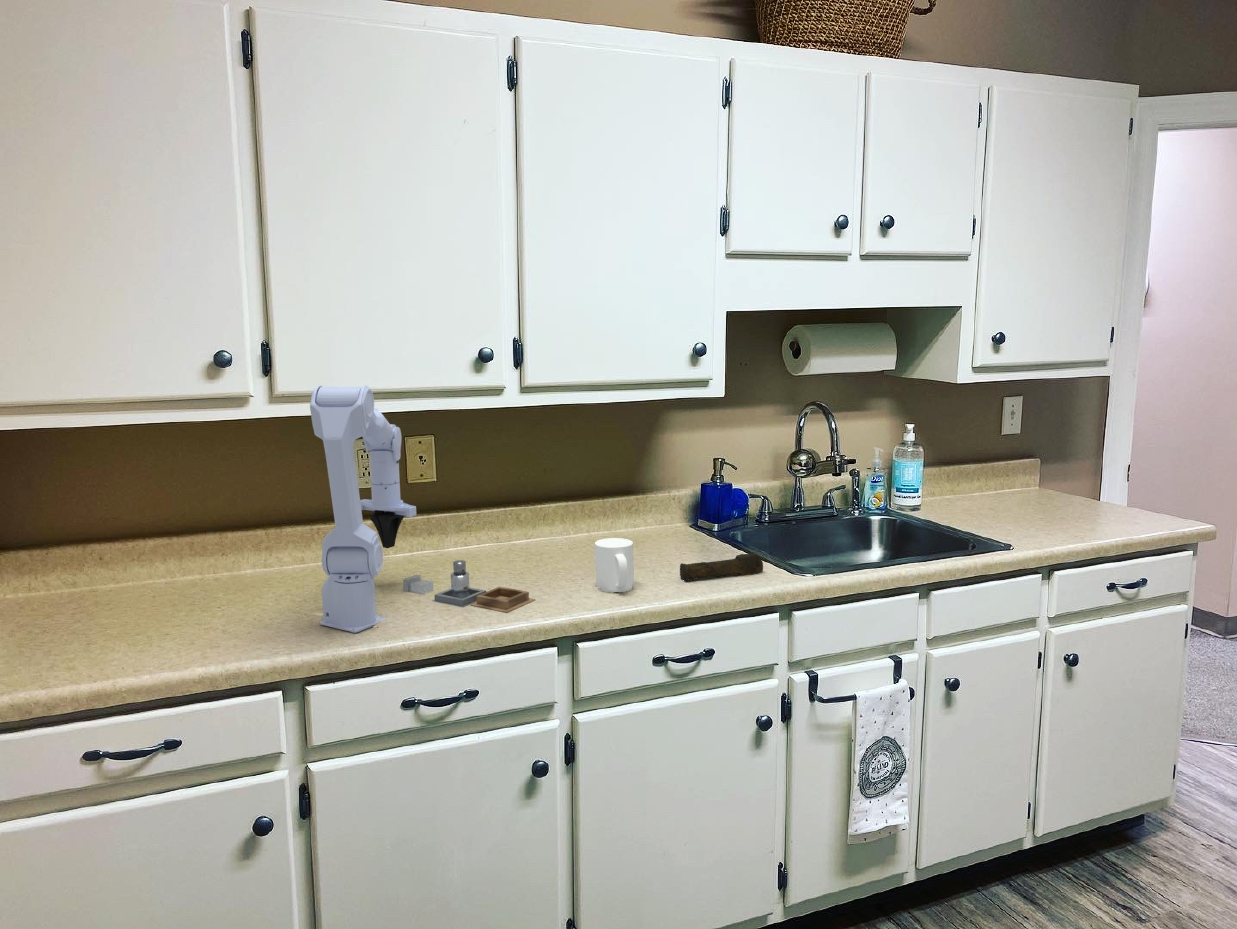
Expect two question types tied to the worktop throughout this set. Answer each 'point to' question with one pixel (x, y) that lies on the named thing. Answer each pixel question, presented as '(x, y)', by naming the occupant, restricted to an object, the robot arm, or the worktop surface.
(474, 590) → the grey square tray
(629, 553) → the mug
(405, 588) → the grey stepped block
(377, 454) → the robot arm
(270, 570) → the worktop surface
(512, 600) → the brown square tray
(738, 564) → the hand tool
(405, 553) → the worktop surface
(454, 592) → the stepped metal cylinder
